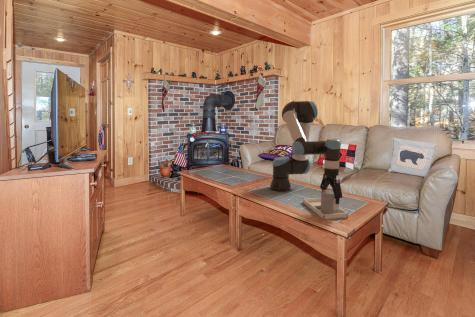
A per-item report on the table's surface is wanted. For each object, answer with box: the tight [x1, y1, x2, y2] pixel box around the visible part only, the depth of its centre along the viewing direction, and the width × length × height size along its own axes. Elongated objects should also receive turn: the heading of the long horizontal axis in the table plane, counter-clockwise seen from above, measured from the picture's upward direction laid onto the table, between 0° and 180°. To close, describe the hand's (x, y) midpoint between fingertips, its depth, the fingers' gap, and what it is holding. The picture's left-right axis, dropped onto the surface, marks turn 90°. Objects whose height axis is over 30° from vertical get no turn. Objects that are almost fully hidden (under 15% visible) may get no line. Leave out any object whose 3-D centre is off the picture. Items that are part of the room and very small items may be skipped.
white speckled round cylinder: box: [320, 188, 339, 214], centre depth 148 cm, size 10×10×12 cm
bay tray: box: [302, 197, 349, 220], centre depth 156 cm, size 27×14×2 cm, turn 9°
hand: (329, 205), depth 148 cm, fingers open, 13 cm apart
